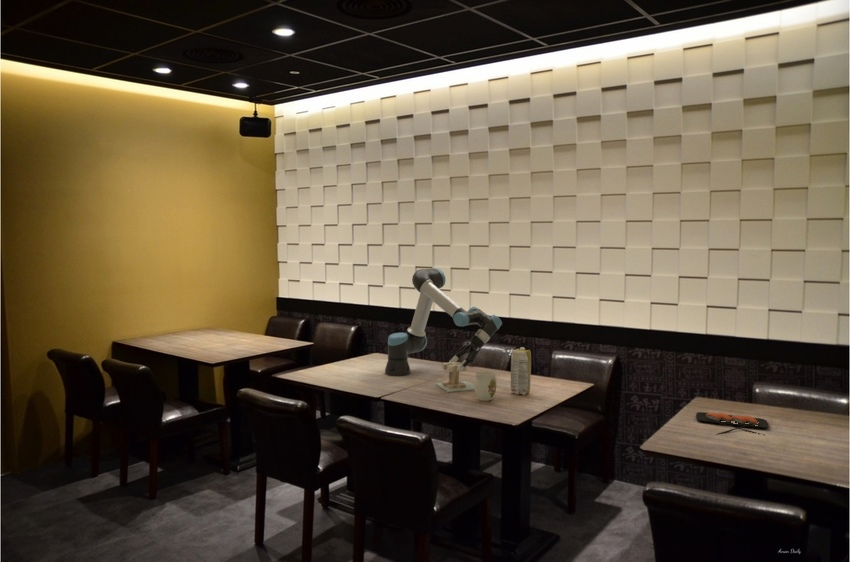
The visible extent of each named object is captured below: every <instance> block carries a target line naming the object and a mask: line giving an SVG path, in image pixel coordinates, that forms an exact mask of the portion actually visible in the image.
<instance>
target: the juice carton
mask: <svg viewBox="0 0 850 562" xmlns="http://www.w3.org/2000/svg"><path fill="white" fill-rule="evenodd" d="M531 354H532V352H531V349H526V348H525V347H519V348H516V349H515V348H514V349H512V350H511V357H510V393H511V394H513V393H515V394H514V395H519V394H522V395H521V396H526V395H528V394H529V393H530V390H531V375H532V372H531V371H532V355H531ZM527 393H528V394H527ZM525 394H526V395H525Z"/></svg>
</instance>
